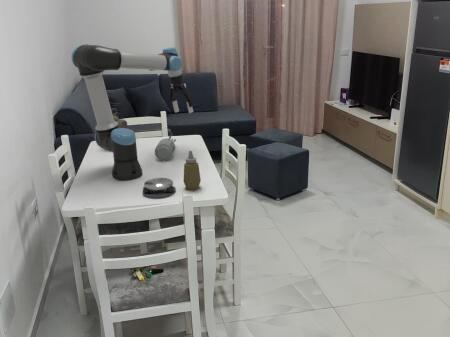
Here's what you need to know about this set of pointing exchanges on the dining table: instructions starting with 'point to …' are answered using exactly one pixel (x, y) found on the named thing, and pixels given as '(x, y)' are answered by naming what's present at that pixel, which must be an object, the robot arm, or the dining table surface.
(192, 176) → the squeeze bottle
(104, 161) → the dining table surface
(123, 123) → the olive green container
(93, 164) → the dining table surface
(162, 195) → the base
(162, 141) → the device
